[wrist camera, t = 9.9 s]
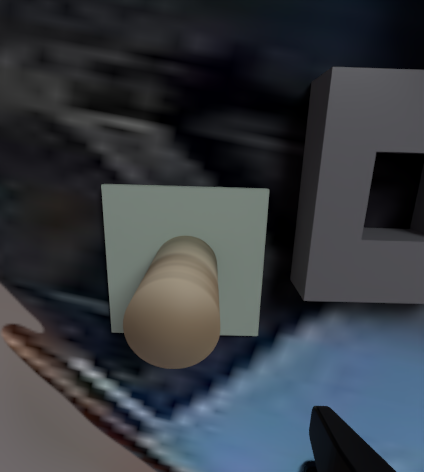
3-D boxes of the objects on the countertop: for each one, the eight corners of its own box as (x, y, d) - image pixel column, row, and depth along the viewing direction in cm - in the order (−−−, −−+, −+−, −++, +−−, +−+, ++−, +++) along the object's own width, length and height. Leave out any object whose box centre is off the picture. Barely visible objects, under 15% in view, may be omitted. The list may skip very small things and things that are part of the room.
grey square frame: (438, 283, 20) (476, 305, 17) (290, 279, 20) (303, 300, 17) (487, 87, 17) (545, 73, 14) (311, 82, 17) (332, 66, 14)
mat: (256, 330, 21) (257, 336, 20) (114, 327, 21) (111, 332, 20) (267, 188, 18) (269, 189, 18) (104, 183, 18) (101, 184, 17)
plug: (216, 294, 19) (218, 370, 13) (155, 293, 19) (125, 367, 13) (218, 236, 18) (222, 284, 12) (154, 234, 18) (120, 281, 12)
